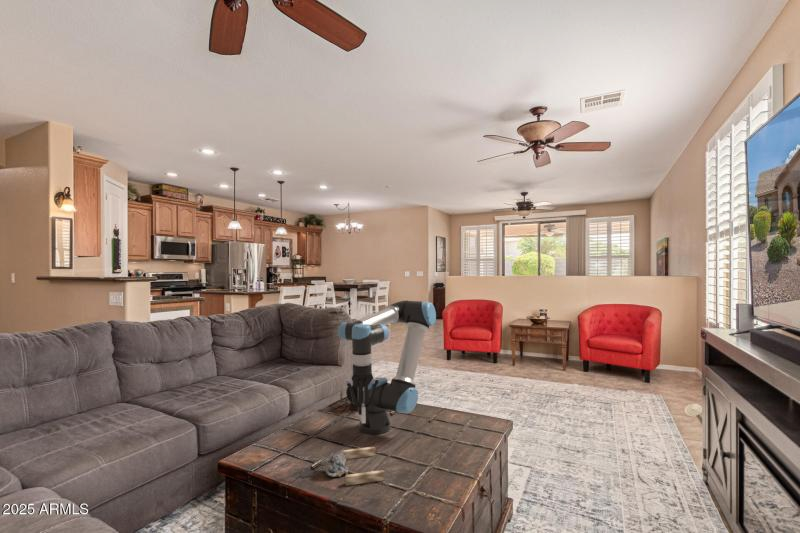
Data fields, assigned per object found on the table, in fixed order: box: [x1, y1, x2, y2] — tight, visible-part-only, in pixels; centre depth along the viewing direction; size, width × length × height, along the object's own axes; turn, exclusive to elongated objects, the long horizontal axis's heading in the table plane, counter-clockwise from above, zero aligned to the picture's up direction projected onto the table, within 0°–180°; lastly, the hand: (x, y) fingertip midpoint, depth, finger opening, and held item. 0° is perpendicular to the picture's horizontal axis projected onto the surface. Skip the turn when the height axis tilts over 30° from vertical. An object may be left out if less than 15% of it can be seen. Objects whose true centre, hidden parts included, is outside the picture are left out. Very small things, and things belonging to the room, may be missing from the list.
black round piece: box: [345, 382, 363, 412], centre depth 209 cm, size 13×13×15 cm
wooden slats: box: [340, 446, 386, 487], centre depth 146 cm, size 14×20×3 cm
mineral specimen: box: [320, 450, 350, 478], centre depth 144 cm, size 10×8×10 cm
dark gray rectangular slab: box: [300, 469, 315, 479], centre depth 142 cm, size 5×4×1 cm
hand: (363, 421), depth 153 cm, fingers closed
